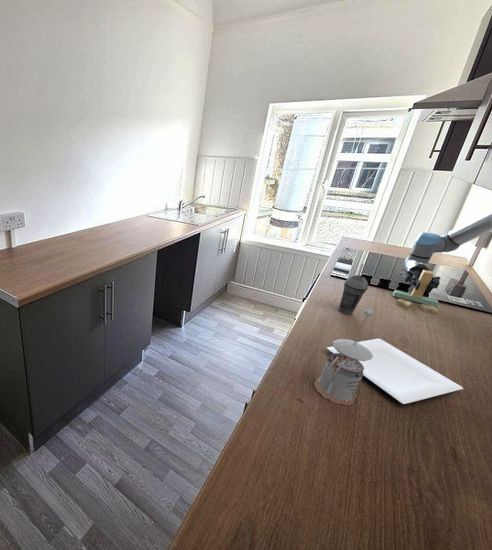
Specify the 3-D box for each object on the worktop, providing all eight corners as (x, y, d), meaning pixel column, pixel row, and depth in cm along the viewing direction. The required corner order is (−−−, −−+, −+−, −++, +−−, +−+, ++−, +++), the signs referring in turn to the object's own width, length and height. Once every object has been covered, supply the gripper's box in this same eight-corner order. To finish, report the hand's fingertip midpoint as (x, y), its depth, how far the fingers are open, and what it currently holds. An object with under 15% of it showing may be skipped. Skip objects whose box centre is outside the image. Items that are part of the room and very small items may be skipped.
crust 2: (431, 309, 121) (433, 305, 121) (436, 313, 118) (438, 310, 117) (419, 306, 123) (421, 303, 122) (424, 311, 119) (426, 308, 119)
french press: (364, 396, 77) (405, 315, 66) (340, 414, 71) (380, 328, 61) (325, 372, 85) (356, 296, 74) (301, 387, 79) (331, 306, 69)
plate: (400, 409, 73) (404, 403, 73) (324, 352, 93) (326, 347, 92) (460, 393, 79) (464, 387, 78) (377, 342, 99) (379, 337, 98)
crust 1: (410, 305, 124) (412, 302, 123) (407, 308, 122) (408, 304, 121) (398, 301, 127) (400, 298, 126) (395, 303, 125) (396, 300, 124)
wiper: (434, 304, 125) (451, 275, 118) (435, 307, 123) (452, 278, 116) (392, 294, 132) (406, 266, 126) (392, 297, 130) (406, 268, 124)
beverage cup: (337, 314, 115) (356, 267, 106) (332, 305, 121) (349, 260, 113) (359, 318, 113) (380, 270, 104) (352, 309, 119) (371, 263, 111)
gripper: (437, 283, 134) (446, 302, 117) (392, 273, 143) (394, 290, 126) (445, 268, 131) (456, 286, 114) (398, 259, 140) (402, 274, 122)
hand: (423, 288), depth 120 cm, fingers closed on wiper, 3 cm apart
